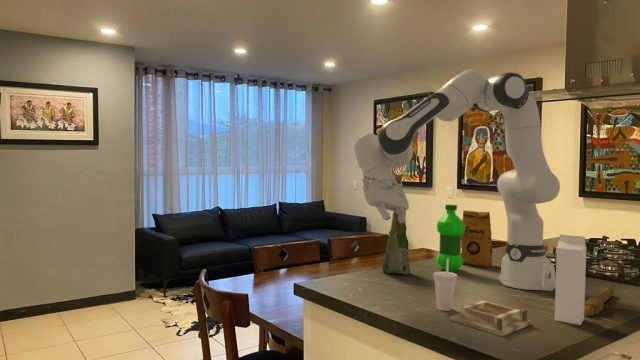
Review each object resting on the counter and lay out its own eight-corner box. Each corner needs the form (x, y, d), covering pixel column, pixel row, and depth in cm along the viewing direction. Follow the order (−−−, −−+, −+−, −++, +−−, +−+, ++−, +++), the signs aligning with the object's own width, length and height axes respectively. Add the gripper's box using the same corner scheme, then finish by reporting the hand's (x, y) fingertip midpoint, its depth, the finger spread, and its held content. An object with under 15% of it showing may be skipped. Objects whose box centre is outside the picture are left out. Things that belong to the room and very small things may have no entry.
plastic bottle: (449, 273, 173) (451, 206, 172) (430, 268, 182) (431, 204, 181) (469, 271, 178) (471, 205, 177) (449, 266, 187) (450, 203, 186)
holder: (481, 310, 128) (481, 298, 128) (531, 324, 117) (531, 310, 117) (450, 320, 119) (450, 306, 119) (501, 336, 108) (501, 321, 108)
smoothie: (457, 313, 125) (458, 261, 125) (432, 311, 126) (434, 259, 126) (455, 306, 131) (456, 256, 131) (431, 304, 133) (433, 255, 132)
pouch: (401, 268, 181) (403, 204, 180) (418, 275, 169) (420, 206, 169) (375, 270, 177) (377, 204, 176) (391, 277, 165) (393, 206, 165)
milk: (558, 315, 126) (561, 233, 125) (584, 319, 122) (587, 235, 122) (554, 320, 121) (556, 235, 120) (580, 325, 117) (583, 237, 117)
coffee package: (487, 268, 183) (489, 212, 183) (456, 264, 191) (458, 210, 190) (495, 265, 191) (497, 211, 191) (465, 260, 199) (467, 209, 198)
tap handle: (614, 287, 146) (594, 307, 123) (614, 297, 146) (594, 319, 123) (603, 285, 148) (581, 305, 125) (603, 295, 148) (581, 316, 125)
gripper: (369, 169, 136) (386, 211, 130) (403, 182, 152) (419, 220, 146) (353, 180, 139) (368, 221, 134) (388, 191, 155) (403, 228, 149)
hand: (395, 221), depth 140 cm, fingers open, 8 cm apart
